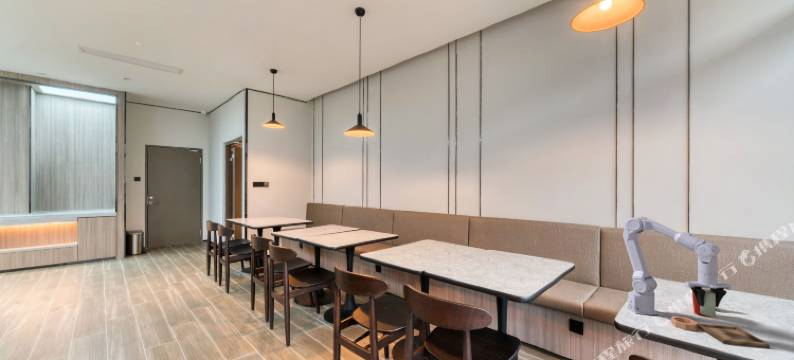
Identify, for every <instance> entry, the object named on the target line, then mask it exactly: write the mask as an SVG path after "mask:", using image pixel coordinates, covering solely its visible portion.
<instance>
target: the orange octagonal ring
mask: <svg viewBox="0 0 794 360" xmlns="http://www.w3.org/2000/svg"><path fill="white" fill-rule="evenodd" d="M671 323H672V324H673V326H674V328H678V329H682V330H685V331H692V332H696V331H697V330H698V327H697V323H698V322H696V321H695V320H693V319H691V318H687V317H684V316H679V315H678V316H677V315H673V316H672V317H670V324H671ZM672 324H671V325H672Z"/></svg>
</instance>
